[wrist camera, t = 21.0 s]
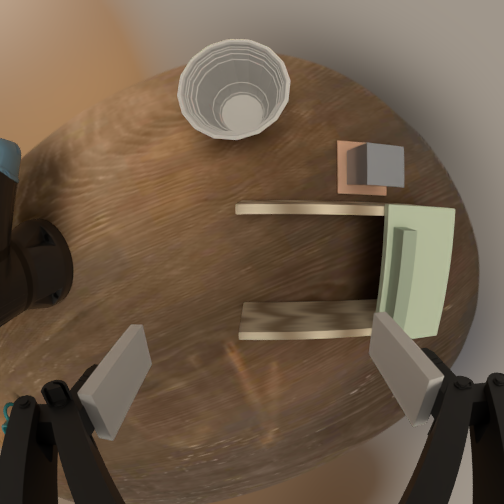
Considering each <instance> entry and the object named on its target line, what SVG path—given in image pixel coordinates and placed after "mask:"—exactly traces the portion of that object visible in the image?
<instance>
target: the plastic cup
mask: <svg viewBox="0 0 504 504" xmlns="http://www.w3.org/2000/svg"><path fill="white" fill-rule="evenodd" d="M289 89H290V78H289V75H288V73H287V70H286V67H285V64H284V62H283V61H282V60H281V59H280V58H279V57H278V56H277V55H276V54H275V53H274V52H273V51H272V50H271V49H270V48H269V47H266V46H264V45H262V44H259V43H257V42H254V41H252V40H244V39H227V40H224V41H221V42H218V43H215V44H212V45H209V46H207V47H206V48H204V49H203V50H202V51H200V52H199V53H198V54H197V55H195V56H194V57H193V58H191V60H190V61H189V63H188V64H187V66H186V68H185V69H184V71H183V72H182V74H181V76H180V81H179V87H178V93H177V97H178V100H179V104H180V108H181V111H182V114H183V116H184V117H185V118H186V119H187V120H188V121H189V123H190V124H191V125H192V126H193V127H194V129H196V130H198V131H200V132H202V133H204V134H206V135H208V136H210V137H212V138H214V139H229V140H239V139H242V138H245V137H249V136H252V135H256V134H259V133H260V132H262V131H263V130H264V129H266V128H267V127H268V126H270V125H271V124H272V123H273V122H275V121H276V120H277V119H278V118H279V116H280V114H281V112H282V111H283V109H284V107H285V106H286V104H287V102H288V99H289Z"/></svg>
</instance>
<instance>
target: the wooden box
mask: <svg viewBox="0 0 504 504" xmlns="http://www.w3.org/2000/svg"><path fill="white" fill-rule="evenodd" d="M385 204H398V203H379V202H355V201H320V200H241V201H240V202H238V203H237V204H235V205H236V214H335V215H374V216H385ZM399 205H413V204H399ZM415 206H419V205H415ZM376 306H377V299H370V300H347V301H314V302H244V303H243V309H242V315H241V321H240V327H239V340H295V339H324V338H343V337H358V336H371V333H372V325H373V316H374V313H376Z"/></svg>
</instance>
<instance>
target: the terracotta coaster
mask: <svg viewBox="0 0 504 504" xmlns="http://www.w3.org/2000/svg"><path fill="white" fill-rule="evenodd" d="M362 144H365V143H361V142H349V141H336V148H337V193H338V194H363V195H383V196H386V187H378V186H363V185H347V150H350V149H352V148H355V147H357V146H360V145H362Z"/></svg>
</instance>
